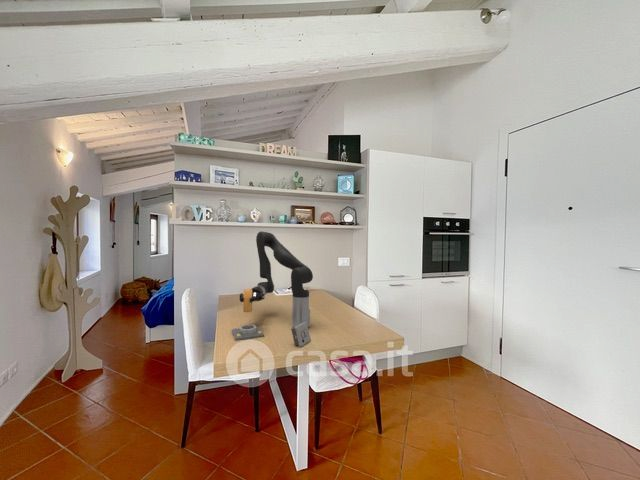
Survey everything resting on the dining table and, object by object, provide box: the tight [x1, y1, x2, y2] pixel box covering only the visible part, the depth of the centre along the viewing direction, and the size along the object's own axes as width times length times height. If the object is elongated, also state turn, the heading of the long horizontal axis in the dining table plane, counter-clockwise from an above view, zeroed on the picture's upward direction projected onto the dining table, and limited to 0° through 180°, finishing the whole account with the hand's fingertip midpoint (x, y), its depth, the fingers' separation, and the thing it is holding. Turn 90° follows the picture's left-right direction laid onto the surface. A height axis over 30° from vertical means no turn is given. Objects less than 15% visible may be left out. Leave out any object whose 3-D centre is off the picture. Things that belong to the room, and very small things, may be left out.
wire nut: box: [242, 288, 253, 313], centre depth 140 cm, size 4×4×11 cm
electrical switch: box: [291, 322, 312, 348], centre depth 130 cm, size 9×5×9 cm, turn 152°
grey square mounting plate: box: [231, 323, 265, 342], centre depth 140 cm, size 14×14×4 cm
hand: (246, 300), depth 138 cm, fingers closed on wire nut, 4 cm apart
